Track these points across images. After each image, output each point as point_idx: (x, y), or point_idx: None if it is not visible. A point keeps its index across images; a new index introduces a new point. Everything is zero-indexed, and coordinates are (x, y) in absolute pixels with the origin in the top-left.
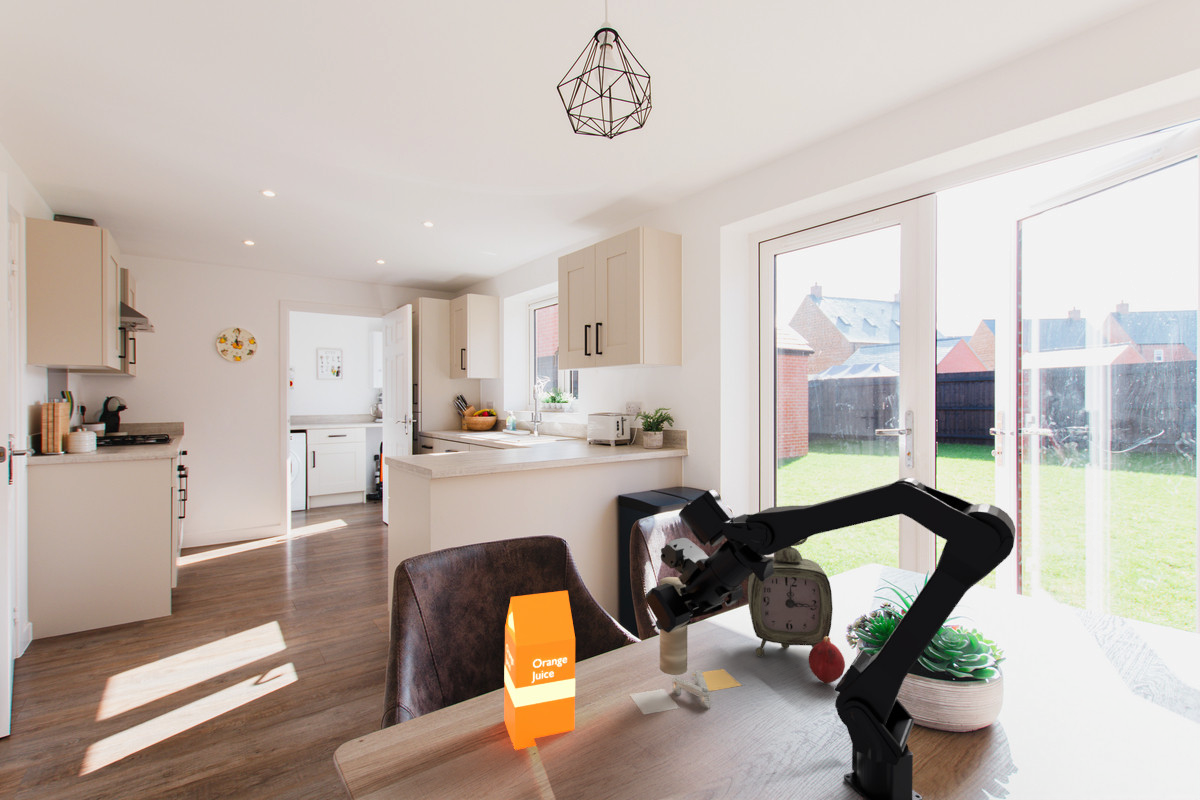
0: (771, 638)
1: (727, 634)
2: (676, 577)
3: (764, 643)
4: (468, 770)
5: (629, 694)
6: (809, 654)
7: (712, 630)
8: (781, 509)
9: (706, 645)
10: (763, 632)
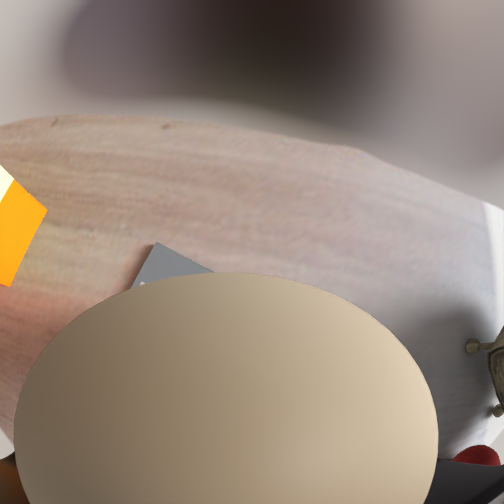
0: (494, 372)
1: (481, 253)
2: (426, 395)
3: (487, 349)
4: None
5: (142, 281)
6: (475, 457)
7: (473, 225)
8: None
9: (438, 251)
10: (498, 362)
